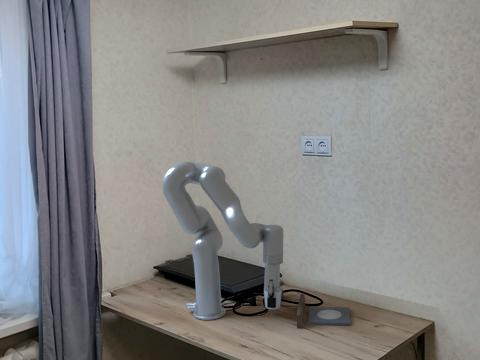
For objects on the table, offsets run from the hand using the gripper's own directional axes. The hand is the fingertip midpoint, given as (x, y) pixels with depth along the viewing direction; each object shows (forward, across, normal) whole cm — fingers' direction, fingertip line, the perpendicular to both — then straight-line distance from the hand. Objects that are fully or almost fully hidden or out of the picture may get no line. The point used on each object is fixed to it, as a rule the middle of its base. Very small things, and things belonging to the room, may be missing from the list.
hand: (272, 303), depth 204 cm
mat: (+4, 0, +21) cm, 22 cm away
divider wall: (+4, 0, +11) cm, 12 cm away
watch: (+5, -18, -1) cm, 19 cm away
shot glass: (+1, 0, 0) cm, 1 cm away
